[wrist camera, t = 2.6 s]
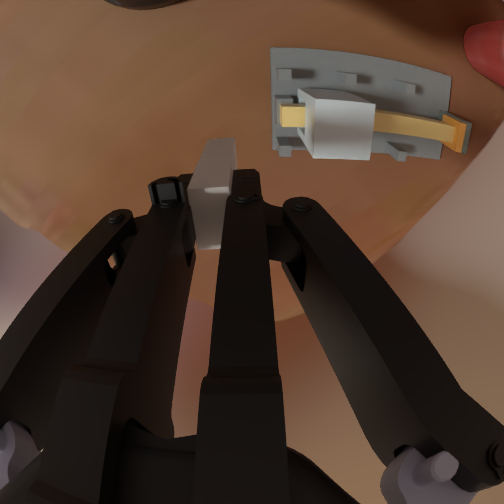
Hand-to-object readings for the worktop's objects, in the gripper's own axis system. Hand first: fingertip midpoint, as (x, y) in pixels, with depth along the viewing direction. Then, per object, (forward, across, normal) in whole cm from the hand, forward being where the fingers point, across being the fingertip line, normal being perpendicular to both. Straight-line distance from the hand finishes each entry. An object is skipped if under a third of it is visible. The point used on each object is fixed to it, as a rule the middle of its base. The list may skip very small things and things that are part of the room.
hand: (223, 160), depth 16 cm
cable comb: (+17, +16, +1) cm, 23 cm away
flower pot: (+17, +34, +13) cm, 40 cm away
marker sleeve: (+14, +9, 0) cm, 17 cm away
